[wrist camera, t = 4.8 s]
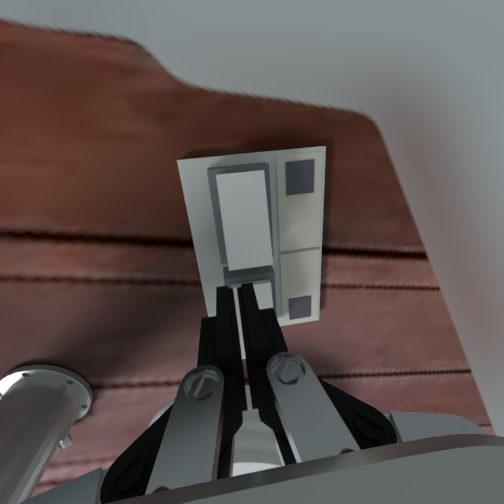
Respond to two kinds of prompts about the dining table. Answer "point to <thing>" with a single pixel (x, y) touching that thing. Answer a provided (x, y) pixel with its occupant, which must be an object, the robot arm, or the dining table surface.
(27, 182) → the dining table surface
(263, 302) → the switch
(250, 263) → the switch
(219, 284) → the panel
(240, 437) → the plate stack
